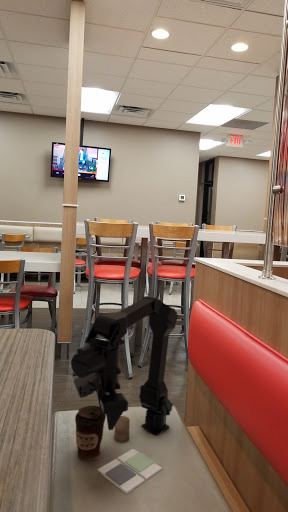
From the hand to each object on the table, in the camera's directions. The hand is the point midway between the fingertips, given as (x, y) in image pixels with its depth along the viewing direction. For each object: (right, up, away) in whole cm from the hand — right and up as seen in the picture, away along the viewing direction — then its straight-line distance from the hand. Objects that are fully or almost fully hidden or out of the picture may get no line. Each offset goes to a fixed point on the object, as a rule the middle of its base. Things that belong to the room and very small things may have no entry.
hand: (106, 419), depth 101 cm
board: (+6, -14, 0) cm, 15 cm away
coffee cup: (-6, -13, +6) cm, 15 cm away
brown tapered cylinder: (+3, -12, +14) cm, 19 cm away
